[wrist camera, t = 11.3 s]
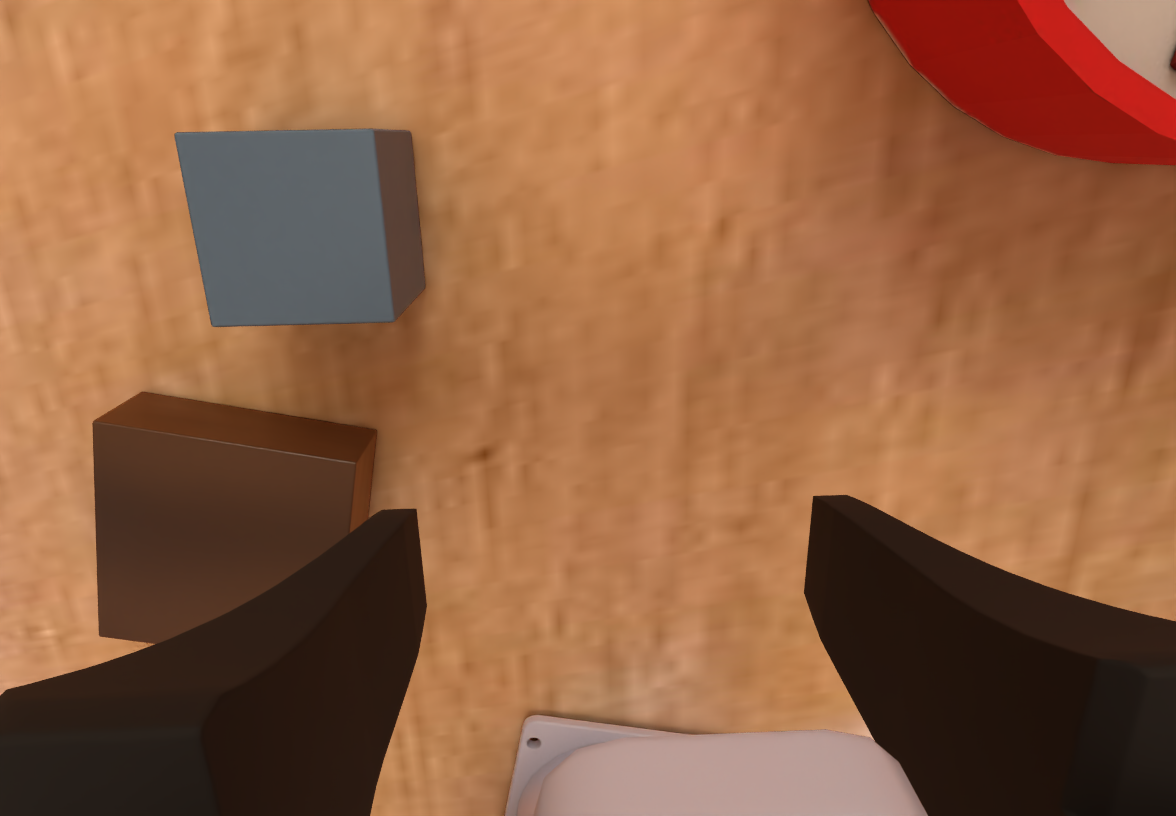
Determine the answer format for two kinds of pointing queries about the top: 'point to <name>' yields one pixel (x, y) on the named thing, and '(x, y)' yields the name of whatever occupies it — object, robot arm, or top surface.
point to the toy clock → (1051, 70)
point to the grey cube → (304, 224)
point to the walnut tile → (214, 507)
